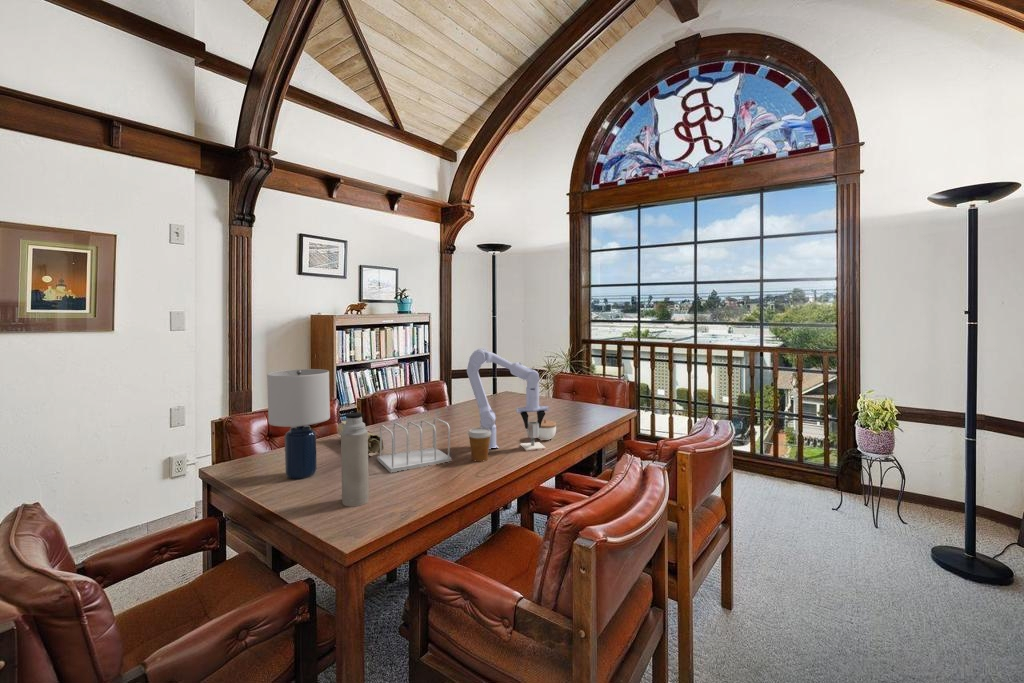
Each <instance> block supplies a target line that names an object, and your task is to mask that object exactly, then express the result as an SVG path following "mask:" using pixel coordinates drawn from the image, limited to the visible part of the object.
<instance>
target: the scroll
mask: <svg viewBox="0 0 1024 683" xmlns="http://www.w3.org/2000/svg"><path fill="white" fill-rule="evenodd" d="M345 423H346V420H342V421H340V423H339V424H338V425H337V427H336V430H337V434H338V435H339V436H338V435H336V434H334V436H335V437H336V438H338V440H340V439H341V432H342V431H343V425H344V424H345ZM366 430H367V431H368V454H369V453H377V454H380V435H378V434H377V433H374V432H372V431H369V430H368V429H366ZM384 447H385V446H384V439H383V438H382V445H381V448H382V450H381V453H382V452H383V450H384V449H385V448H384ZM368 457H369V455H368Z"/></svg>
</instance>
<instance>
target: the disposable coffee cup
mask: <svg viewBox="0 0 1024 683" xmlns="http://www.w3.org/2000/svg"><path fill="white" fill-rule="evenodd" d="M467 435H468V437H469V445H470V452H471V460H472V459H473V460H476V461H482V462H484V461H483V460H486V459H487V458H488V457H489V451H490V449H489V442H490V436H491V432H490V429H487V428H480V427H477V428H476V427H475V428H471V429H469V430H468V433H467ZM473 460H472V461H473ZM487 460H488V459H487ZM487 460H486V461H487ZM476 461H475V462H476Z"/></svg>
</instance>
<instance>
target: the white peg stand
mask: <svg viewBox="0 0 1024 683" xmlns="http://www.w3.org/2000/svg"><path fill="white" fill-rule="evenodd" d="M520 445H521V446H522V447H524V448H525V449H526V450H531V449H542V448H547V447H546V446H545V445H543V444H542V443H541V442H540V441H536V442H535V438H530V442H523V443H522V442H521V443H520ZM521 446H520V447H521ZM522 447H521V448H522Z"/></svg>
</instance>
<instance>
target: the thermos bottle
mask: <svg viewBox="0 0 1024 683" xmlns="http://www.w3.org/2000/svg"><path fill="white" fill-rule="evenodd" d="M345 421H346V423H345V424H343V431H342V432H341V435H340V438H341V440H340V445H341V446H340V451H341V452H340V456H341V457H340V459H341V460H340V461H341V467H340V468H341V500H342V501H341V503H342V505H343V506H345V507H359V506H362V505H365V504H367V503H369V501H370V490H369V488H370V487H369V484H370V483H369V456H368V431H369V430H368V429H366V423H365V422H363V413H361V412H351V413H347V414H345ZM367 430H368V431H367Z"/></svg>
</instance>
